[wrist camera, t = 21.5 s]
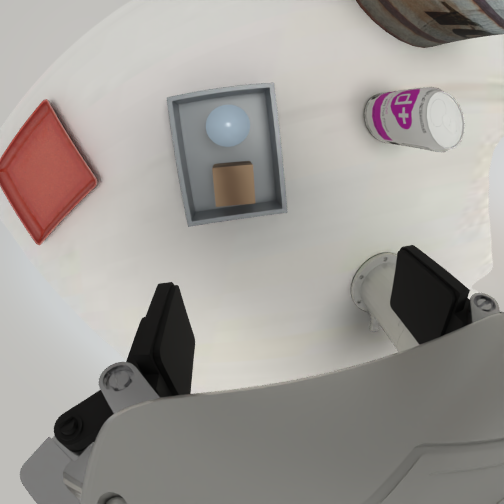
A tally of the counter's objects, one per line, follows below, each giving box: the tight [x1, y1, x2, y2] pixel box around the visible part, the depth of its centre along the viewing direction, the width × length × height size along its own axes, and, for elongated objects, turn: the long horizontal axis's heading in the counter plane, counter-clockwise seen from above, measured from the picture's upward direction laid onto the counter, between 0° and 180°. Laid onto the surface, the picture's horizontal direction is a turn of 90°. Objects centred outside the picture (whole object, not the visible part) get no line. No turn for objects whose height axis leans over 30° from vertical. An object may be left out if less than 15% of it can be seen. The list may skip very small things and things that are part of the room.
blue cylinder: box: [206, 105, 250, 147], centre depth 31 cm, size 5×5×7 cm
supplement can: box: [365, 87, 465, 152], centre depth 29 cm, size 8×8×15 cm
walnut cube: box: [212, 161, 255, 207], centre depth 35 cm, size 5×5×5 cm
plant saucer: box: [0, 99, 98, 245], centre depth 33 cm, size 18×18×3 cm
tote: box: [167, 83, 287, 227], centre depth 34 cm, size 17×13×5 cm
